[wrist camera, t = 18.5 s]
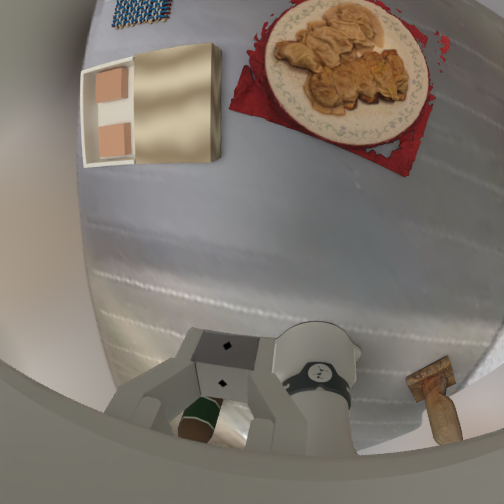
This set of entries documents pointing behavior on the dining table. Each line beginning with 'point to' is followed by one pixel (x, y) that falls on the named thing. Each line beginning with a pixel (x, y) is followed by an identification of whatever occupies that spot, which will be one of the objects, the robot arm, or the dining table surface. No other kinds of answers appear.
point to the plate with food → (342, 78)
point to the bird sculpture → (437, 400)
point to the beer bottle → (200, 419)
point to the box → (105, 114)
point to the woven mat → (140, 12)
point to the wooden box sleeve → (178, 105)
